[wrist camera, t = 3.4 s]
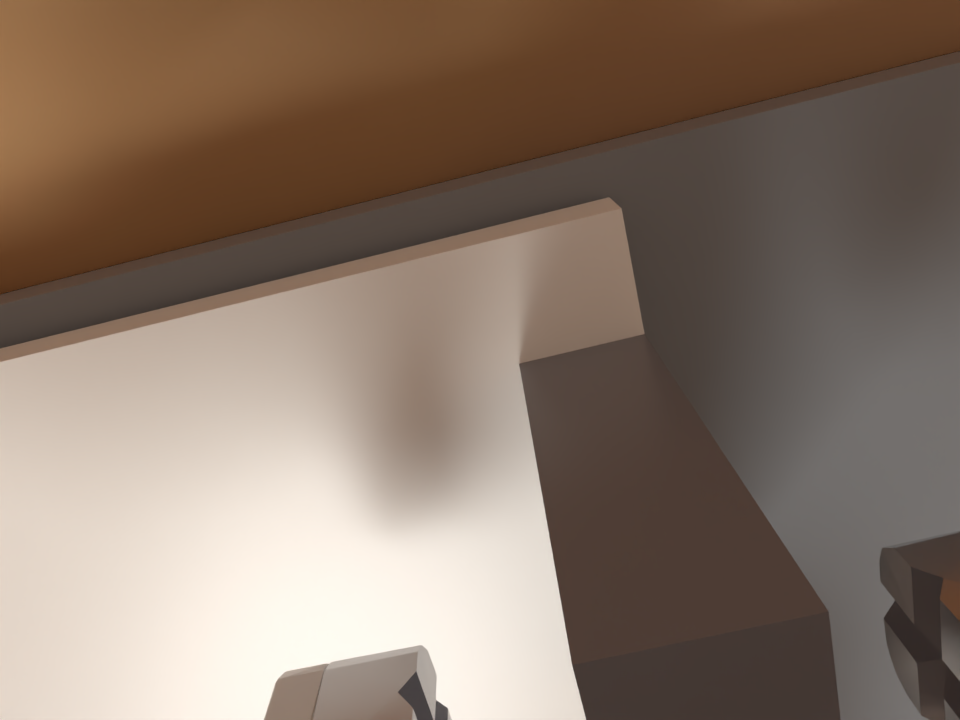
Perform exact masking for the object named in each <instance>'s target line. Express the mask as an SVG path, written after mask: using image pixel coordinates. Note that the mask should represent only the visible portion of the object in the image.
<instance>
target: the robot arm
mask: <svg viewBox="0 0 960 720" xmlns="http://www.w3.org/2000/svg"><path fill="white" fill-rule="evenodd" d="M879 567H880V582H881V583H882V584H883V586H884V587H885V588H886V589H887V591H888V592H889V593H890V595H891V596H892V597H893V598H894V600H895V601H894V603H893V604H892V606H891V607H890V609H889V610H888V612H887V614H886V615H885V617H884V626H885V634H886V643H887V647H888V651H889V654H890V657H891V660H892V663H893V666H894V669H895V672H896V674H897V676H898V678H899V680H900V682H901V684H902V686H903V688H904V690H905V692H906V694H907V695H908V697H909V698H910V700H911V701H912V703H913V704H914V706H915V707H916V709H917V710H918V712H919V713H920V715H921V716H923V717H925V718H927V719H929V720H960V531H955V532H951V533H946V534H942V535H937V536H932V537H928V538H923V539H919V540H914V541H910V542H905V543H900V544H896V545H891V546H887V547H882V551H881V555H880V559H879ZM436 682H437V674H436V671H435V669H434V666H433V663H432V661H431V658H430V655H429V652H428V650H427V649H426V648H425V647H424V646H422V645H418V646H413V647H408V648H402V649H397V650H392V651H387V652H381V653H376V654H371V655H365V656H360V657H355V658H349V659H344V660H339V661H334V662H331V663H330V664H321V665H316V666H311V667H306V668H301V669H296V670H291V671H286V672H284V673H283V674H282V675H281V676H280V677H279V678H278V679H277V681H276V683H275V686H274V689H273V692H272V695H271V698H270V702H269V705H268V708H267V711H266V714H265V717H264V720H452V719H451V716H450V713H449V710H448V708H447V707H446V706H444V705H443V704H441V703H440V702H438V701H437V700H436Z"/></svg>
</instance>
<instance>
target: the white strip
mask: <svg viewBox="0 0 960 720" xmlns="http://www.w3.org/2000/svg"><path fill="white" fill-rule="evenodd" d="M418 645H422V646H424V647H425V648H426V649H427V650H428V652H429V655H430V658H431V661H432V663H433V666H434V669H435V671H436V674H437V682H436V700H437V701H438V702H440V703H441V704H443V705H444V706H446V707H447V708H448V710H449V713H450V716H451V719H452V720H841V718H840V709H839V700H838V691H837V682H836V673H835V664H834V655H833V646H832V637H831V628H830V619H829V611H828V610H827V608H826V607H825V605H824V604H823V602H822V601H821V599H820V598H819V596H818V595H817V593H816V592H815V590H814V589H813V587H812V586H811V584H810V583H809V581H808V580H807V578H806V577H805V575H804V574H803V572H802V571H801V569H800V568H799V566H798V565H797V563H796V562H795V560H794V559H793V557H792V556H791V554H790V553H789V551H788V550H787V548H786V547H785V545H784V544H783V542H782V541H781V539H780V538H779V536H778V535H777V533H776V531H775V530H774V528H773V527H772V525H771V524H770V522H769V521H768V519H767V518H766V516H765V515H764V513H763V512H762V510H761V509H760V507H759V506H758V504H757V503H756V501H755V500H754V498H753V497H752V495H751V494H750V492H749V491H748V489H747V488H746V486H745V485H744V483H743V482H742V480H741V479H740V477H739V476H738V474H737V473H736V471H735V470H734V468H733V467H732V465H731V464H730V462H729V461H728V459H727V458H726V456H725V455H724V453H723V452H722V450H721V449H720V447H719V446H718V444H717V443H716V441H715V440H714V438H713V436H712V435H711V433H710V432H709V430H708V429H707V427H706V426H705V424H704V423H703V421H702V420H701V418H700V417H699V415H698V414H697V412H696V411H695V409H694V408H693V406H692V405H691V403H690V402H689V400H688V399H687V397H686V396H685V394H684V393H683V391H682V390H681V388H680V387H679V385H678V384H677V382H676V381H675V379H674V378H673V376H672V375H671V373H670V372H669V370H668V369H667V367H666V366H665V364H664V363H663V361H662V360H661V358H660V357H659V355H658V354H657V352H656V351H655V349H654V348H653V346H652V345H651V343H650V342H649V340H648V338H647V337H646V335H645V334H644V328H643V323H642V317H641V312H640V306H639V301H638V296H637V290H636V285H635V279H634V274H633V268H632V263H631V257H630V252H629V246H628V241H627V235H626V230H625V225H624V219H623V214H622V208H620V207H619V206H618V205H617V204H616V203H615V202H614V201H613V200H612V199H611V198H610V197H608V198H604V199H600V200H596V201H592V202H588V203H584V204H580V205H576V206H572V207H568V208H564V209H560V210H556V211H552V212H548V213H544V214H539V215H535V216H531V217H527V218H523V219H519V220H515V221H511V222H507V223H503V224H499V225H495V226H491V227H487V228H483V229H479V230H475V231H471V232H467V233H463V234H459V235H455V236H451V237H447V238H443V239H439V240H435V241H431V242H427V243H423V244H419V245H415V246H411V247H407V248H403V249H399V250H395V251H391V252H387V253H383V254H379V255H374V256H370V257H366V258H362V259H358V260H354V261H350V262H346V263H342V264H338V265H334V266H330V267H326V268H322V269H318V270H314V271H310V272H306V273H302V274H298V275H294V276H290V277H286V278H282V279H278V280H274V281H270V282H266V283H262V284H258V285H254V286H250V287H246V288H242V289H238V290H234V291H230V292H226V293H222V294H218V295H214V296H210V297H205V298H201V299H197V300H193V301H189V302H185V303H181V304H177V305H173V306H169V307H165V308H161V309H157V310H153V311H149V312H145V313H141V314H137V315H133V316H129V317H125V318H121V319H117V320H113V321H109V322H105V323H101V324H97V325H93V326H89V327H85V328H81V329H77V330H73V331H69V332H65V333H61V334H57V335H53V336H49V337H45V338H40V339H36V340H32V341H28V342H24V343H20V344H16V345H12V346H8V347H4V348H0V720H264V717H265V714H266V711H267V708H268V705H269V702H270V698H271V695H272V692H273V689H274V686H275V683H276V681H277V679H278V678H279V677H280V676H281V675H282V674H283V673H284V672H286V671H291V670H296V669H301V668H306V667H311V666H316V665H321V664H330V663H331V662H334V661H339V660H344V659H349V658H355V657H360V656H365V655H371V654H376V653H381V652H387V651H392V650H397V649H402V648H408V647H413V646H418Z"/></svg>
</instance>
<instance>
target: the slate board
mask: <svg viewBox="0 0 960 720" xmlns="http://www.w3.org/2000/svg"><path fill="white" fill-rule="evenodd" d="M608 197H610V198H611V199H612V200H613V201H614V202H615V203H616V204H617V205H618V206H619V207H620V208H622V214H623V219H624V225H625V230H626V235H627V241H628V246H629V252H630V257H631V263H632V268H633V274H634V279H635V285H636V290H637V296H638V301H639V306H640V312H641V317H642V323H643V328H644V334H645V335H646V337H647V338H648V340H649V342H650V343H651V345H652V346H653V348H654V349H655V351H656V352H657V354H658V355H659V357H660V358H661V360H662V361H663V363H664V364H665V366H666V367H667V369H668V370H669V372H670V373H671V375H672V376H673V378H674V379H675V381H676V382H677V384H678V385H679V387H680V388H681V390H682V391H683V393H684V394H685V396H686V397H687V399H688V400H689V402H690V403H691V405H692V406H693V408H694V409H695V411H696V412H697V414H698V415H699V417H700V418H701V420H702V421H703V423H704V424H705V426H706V427H707V429H708V430H709V432H710V433H711V435H712V436H713V438H714V440H715V441H716V443H717V444H718V446H719V447H720V449H721V450H722V452H723V453H724V455H725V456H726V458H727V459H728V461H729V462H730V464H731V465H732V467H733V468H734V470H735V471H736V473H737V474H738V476H739V477H740V479H741V480H742V482H743V483H744V485H745V486H746V488H747V489H748V491H749V492H750V494H751V495H752V497H753V498H754V500H755V501H756V503H757V504H758V506H759V507H760V509H761V510H762V512H763V513H764V515H765V516H766V518H767V519H768V521H769V522H770V524H771V525H772V527H773V528H774V530H775V531H776V533H777V535H778V536H779V538H780V539H781V541H782V542H783V544H784V545H785V547H786V548H787V550H788V551H789V553H790V554H791V556H792V557H793V559H794V560H795V562H796V563H797V565H798V566H799V568H800V569H801V571H802V572H803V574H804V575H805V577H806V578H807V580H808V581H809V583H810V584H811V586H812V587H813V589H814V590H815V592H816V593H817V595H818V596H819V598H820V599H821V601H822V602H823V604H824V605H825V607H826V608H827V610H828V611H829V619H830V628H831V637H832V646H833V655H834V664H835V673H836V682H837V691H838V700H839V709H840V718H841V720H929V719H927V718H925V717H923V716H921V715H920V713H919V712H918V710H917V709H916V707H915V706H914V704H913V703H912V701H911V700H910V698H909V697H908V695H907V694H906V692H905V690H904V688H903V686H902V684H901V682H900V680H899V678H898V676H897V674H896V672H895V669H894V666H893V663H892V660H891V657H890V654H889V651H888V647H887V643H886V634H885V626H884V617H885V615H886V614H887V612H888V610H889V609H890V607H891V606H892V604H893V603H894V601H895V600H894V598H893V597H892V596H891V595H890V593H889V592H888V591H887V589H886V588H885V587H884V586H883V584H882V583H881V582H880V567H879V559H880V555H881V551H882V547H887V546H891V545H896V544H900V543H905V542H910V541H914V540H919V539H923V538H928V537H932V536H937V535H942V534H946V533H951V532H955V531H960V51H958V52H954V53H950V54H946V55H943V56H939V57H935V58H931V59H927V60H923V61H919V62H915V63H911V64H907V65H903V66H899V67H895V68H891V69H887V70H883V71H879V72H875V73H872V74H868V75H864V76H860V77H856V78H852V79H848V80H844V81H840V82H836V83H832V84H828V85H824V86H820V87H816V88H812V89H808V90H804V91H801V92H797V93H793V94H789V95H785V96H781V97H777V98H773V99H769V100H765V101H761V102H757V103H753V104H749V105H745V106H741V107H737V108H733V109H730V110H726V111H722V112H718V113H714V114H710V115H706V116H702V117H698V118H694V119H690V120H686V121H682V122H678V123H674V124H670V125H666V126H663V127H659V128H655V129H651V130H647V131H643V132H639V133H635V134H631V135H627V136H623V137H619V138H615V139H611V140H607V141H603V142H599V143H595V144H592V145H588V146H584V147H580V148H576V149H572V150H568V151H564V152H560V153H556V154H552V155H548V156H544V157H540V158H536V159H532V160H528V161H524V162H521V163H517V164H513V165H509V166H505V167H501V168H497V169H493V170H489V171H485V172H481V173H477V174H473V175H469V176H465V177H461V178H457V179H453V180H450V181H446V182H442V183H438V184H434V185H430V186H426V187H422V188H418V189H414V190H410V191H406V192H402V193H398V194H394V195H390V196H386V197H382V198H379V199H375V200H371V201H367V202H363V203H359V204H355V205H351V206H347V207H343V208H339V209H335V210H331V211H327V212H323V213H319V214H315V215H312V216H308V217H304V218H300V219H296V220H292V221H288V222H284V223H280V224H276V225H272V226H268V227H264V228H260V229H256V230H252V231H248V232H244V233H241V234H237V235H233V236H229V237H225V238H221V239H217V240H213V241H209V242H205V243H201V244H197V245H193V246H189V247H185V248H181V249H177V250H173V251H170V252H166V253H162V254H158V255H154V256H150V257H146V258H142V259H138V260H134V261H130V262H126V263H122V264H118V265H114V266H110V267H106V268H102V269H99V270H95V271H91V272H87V273H83V274H79V275H75V276H71V277H67V278H63V279H59V280H55V281H51V282H47V283H43V284H39V285H35V286H31V287H28V288H24V289H20V290H16V291H12V292H8V293H4V294H0V348H4V347H8V346H12V345H16V344H20V343H24V342H28V341H32V340H36V339H40V338H45V337H49V336H53V335H57V334H61V333H65V332H69V331H73V330H77V329H81V328H85V327H89V326H93V325H97V324H101V323H105V322H109V321H113V320H117V319H121V318H125V317H129V316H133V315H137V314H141V313H145V312H149V311H153V310H157V309H161V308H165V307H169V306H173V305H177V304H181V303H185V302H189V301H193V300H197V299H201V298H205V297H210V296H214V295H218V294H222V293H226V292H230V291H234V290H238V289H242V288H246V287H250V286H254V285H258V284H262V283H266V282H270V281H274V280H278V279H282V278H286V277H290V276H294V275H298V274H302V273H306V272H310V271H314V270H318V269H322V268H326V267H330V266H334V265H338V264H342V263H346V262H350V261H354V260H358V259H362V258H366V257H370V256H374V255H379V254H383V253H387V252H391V251H395V250H399V249H403V248H407V247H411V246H415V245H419V244H423V243H427V242H431V241H435V240H439V239H443V238H447V237H451V236H455V235H459V234H463V233H467V232H471V231H475V230H479V229H483V228H487V227H491V226H495V225H499V224H503V223H507V222H511V221H515V220H519V219H523V218H527V217H531V216H535V215H539V214H544V213H548V212H552V211H556V210H560V209H564V208H568V207H572V206H576V205H580V204H584V203H588V202H592V201H596V200H600V199H604V198H608Z"/></svg>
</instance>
